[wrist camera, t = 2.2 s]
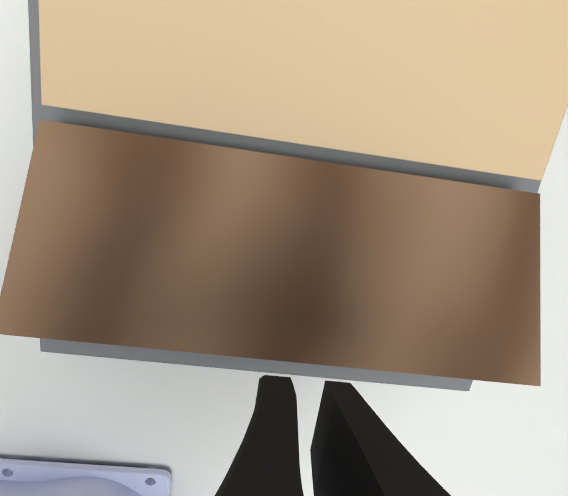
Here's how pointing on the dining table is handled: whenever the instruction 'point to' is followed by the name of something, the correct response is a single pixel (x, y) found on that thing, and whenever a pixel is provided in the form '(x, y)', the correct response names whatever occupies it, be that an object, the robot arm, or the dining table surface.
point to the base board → (313, 96)
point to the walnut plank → (272, 258)
